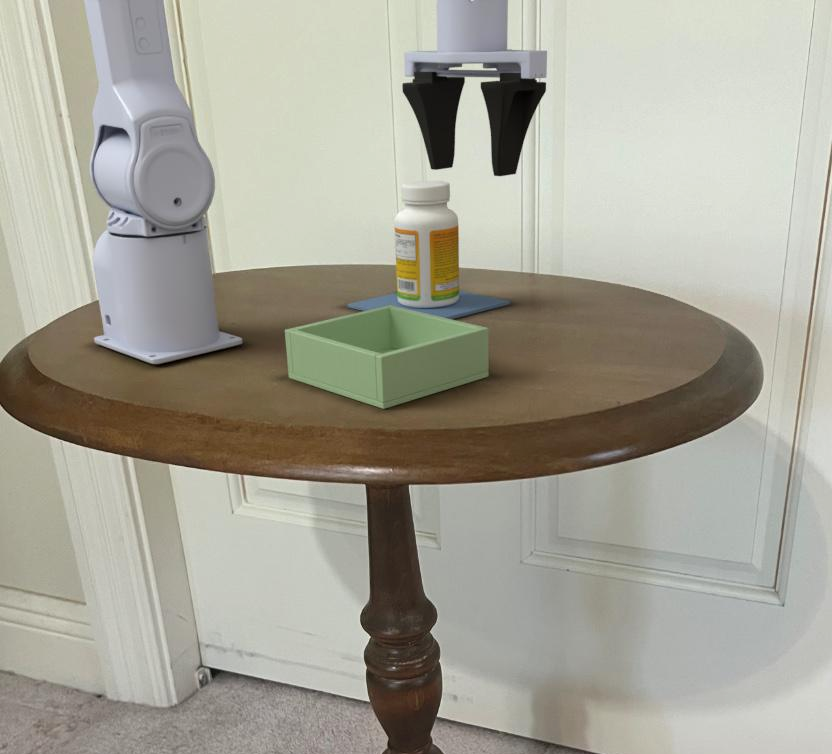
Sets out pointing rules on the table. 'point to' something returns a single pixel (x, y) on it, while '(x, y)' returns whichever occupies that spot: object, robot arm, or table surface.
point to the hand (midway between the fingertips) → (472, 171)
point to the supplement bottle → (427, 246)
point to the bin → (387, 355)
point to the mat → (462, 307)
